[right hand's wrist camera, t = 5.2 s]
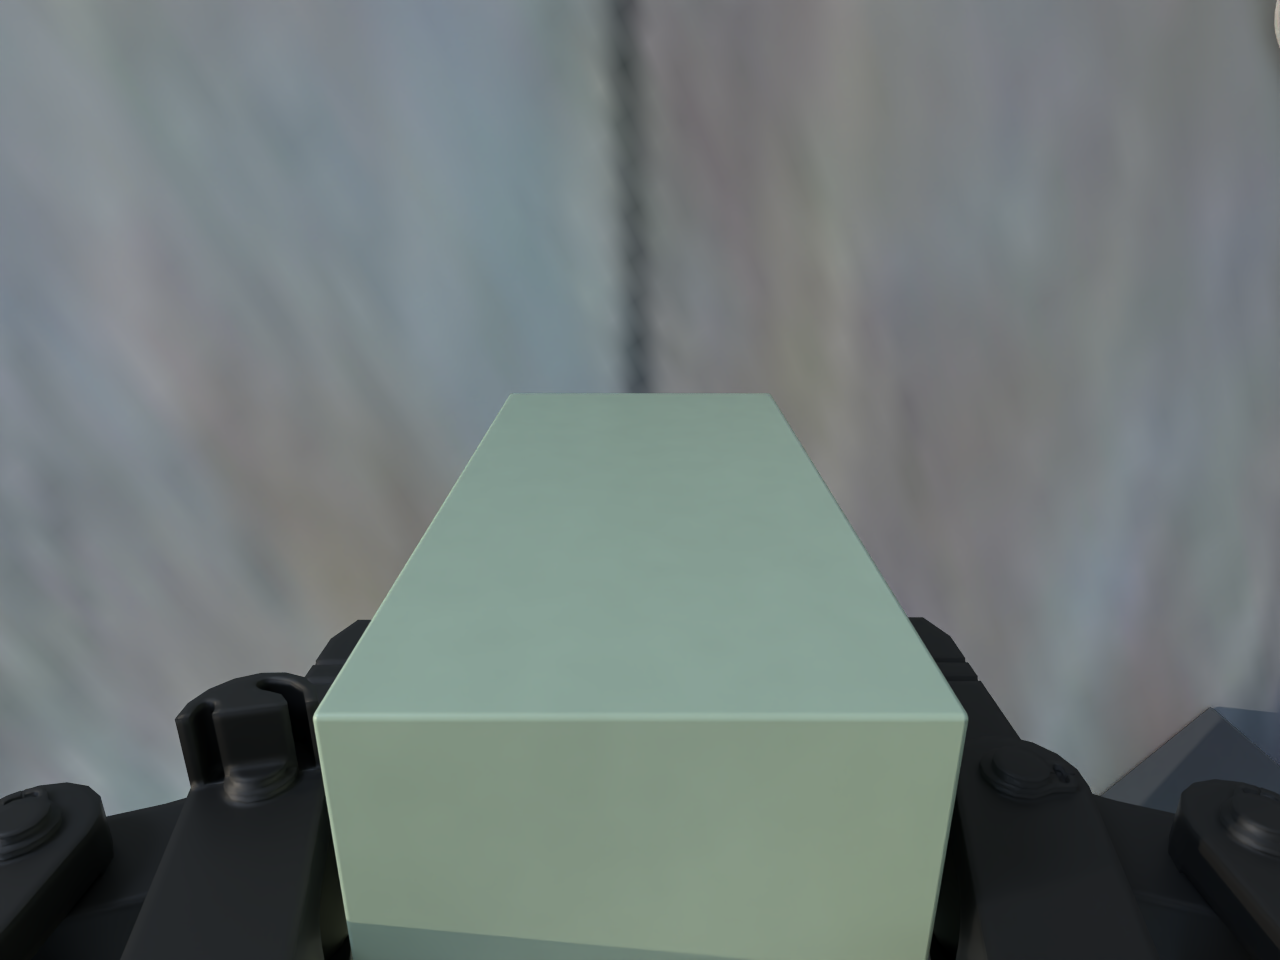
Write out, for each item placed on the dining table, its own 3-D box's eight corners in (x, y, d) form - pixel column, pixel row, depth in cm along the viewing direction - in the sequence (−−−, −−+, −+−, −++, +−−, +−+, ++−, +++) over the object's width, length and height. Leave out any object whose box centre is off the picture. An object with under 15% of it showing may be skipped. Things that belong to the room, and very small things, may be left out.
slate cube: (1210, 705, 23) (1356, 832, 19) (1311, 795, 25) (1474, 937, 20) (1076, 813, 25) (1182, 958, 20) (1178, 894, 26) (1301, 1050, 21)
